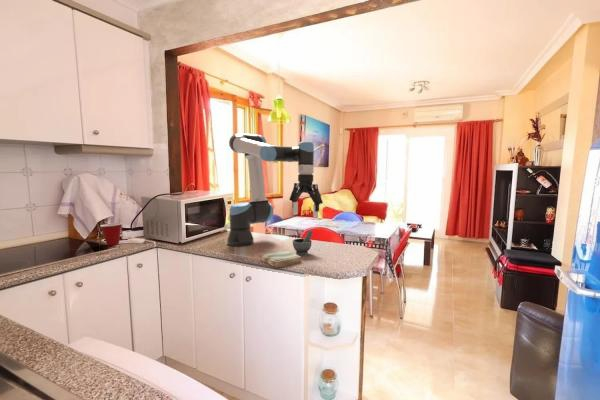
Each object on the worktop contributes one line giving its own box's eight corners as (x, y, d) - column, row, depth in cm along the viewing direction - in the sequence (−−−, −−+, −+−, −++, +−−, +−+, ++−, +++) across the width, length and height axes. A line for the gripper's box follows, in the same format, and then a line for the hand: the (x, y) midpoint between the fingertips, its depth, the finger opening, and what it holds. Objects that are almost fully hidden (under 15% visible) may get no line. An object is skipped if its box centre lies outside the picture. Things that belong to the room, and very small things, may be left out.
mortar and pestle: (297, 257, 145) (297, 233, 144) (289, 252, 154) (289, 230, 152) (317, 254, 150) (317, 231, 149) (308, 249, 158) (308, 228, 157)
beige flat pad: (260, 259, 141) (260, 254, 141) (284, 254, 150) (284, 249, 149) (276, 267, 130) (276, 261, 130) (301, 261, 139) (301, 256, 138)
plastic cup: (117, 241, 174) (115, 221, 173) (127, 243, 169) (126, 222, 168) (97, 245, 165) (95, 224, 163) (108, 247, 160) (106, 226, 158)
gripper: (282, 173, 150) (282, 214, 153) (320, 174, 133) (319, 220, 136) (293, 173, 156) (292, 212, 158) (330, 174, 139) (329, 218, 141)
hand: (305, 216), depth 147 cm, fingers open, 13 cm apart
